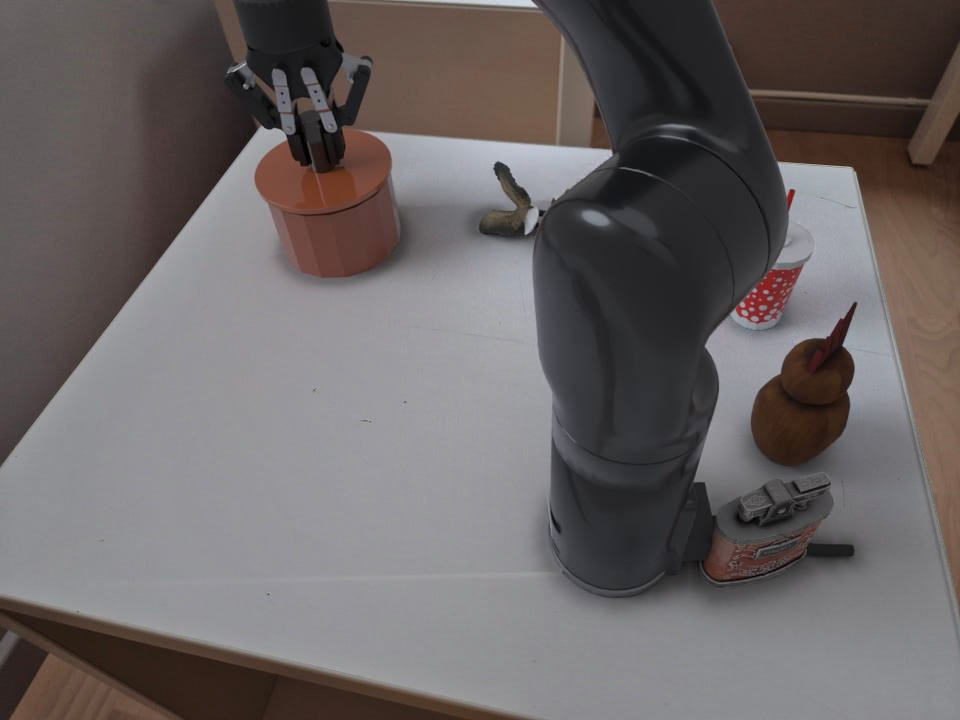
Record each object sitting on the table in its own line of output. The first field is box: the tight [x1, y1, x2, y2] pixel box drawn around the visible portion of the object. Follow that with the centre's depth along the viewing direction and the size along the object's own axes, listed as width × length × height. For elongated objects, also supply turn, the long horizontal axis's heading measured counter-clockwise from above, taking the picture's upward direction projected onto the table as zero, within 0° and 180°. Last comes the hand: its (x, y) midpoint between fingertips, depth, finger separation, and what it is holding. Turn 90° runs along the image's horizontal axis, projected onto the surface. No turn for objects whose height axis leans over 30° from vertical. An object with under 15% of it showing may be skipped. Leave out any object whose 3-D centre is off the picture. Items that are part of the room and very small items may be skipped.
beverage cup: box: [730, 188, 816, 331], centre depth 66 cm, size 6×6×14 cm
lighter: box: [697, 471, 835, 590], centre depth 51 cm, size 8×3×10 cm, turn 106°
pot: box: [267, 173, 402, 279], centre depth 78 cm, size 13×13×8 cm
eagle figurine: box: [478, 160, 570, 236], centre depth 79 cm, size 8×7×9 cm
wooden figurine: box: [749, 301, 858, 466], centre depth 55 cm, size 7×6×15 cm
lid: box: [253, 109, 393, 214], centre depth 72 cm, size 14×14×7 cm
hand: (321, 160), depth 73 cm, fingers closed on lid, 2 cm apart
